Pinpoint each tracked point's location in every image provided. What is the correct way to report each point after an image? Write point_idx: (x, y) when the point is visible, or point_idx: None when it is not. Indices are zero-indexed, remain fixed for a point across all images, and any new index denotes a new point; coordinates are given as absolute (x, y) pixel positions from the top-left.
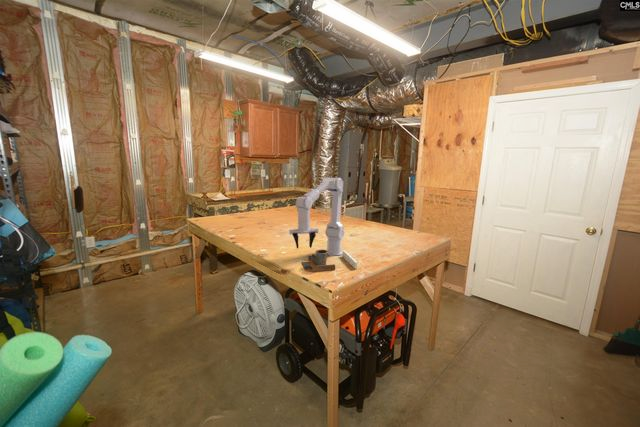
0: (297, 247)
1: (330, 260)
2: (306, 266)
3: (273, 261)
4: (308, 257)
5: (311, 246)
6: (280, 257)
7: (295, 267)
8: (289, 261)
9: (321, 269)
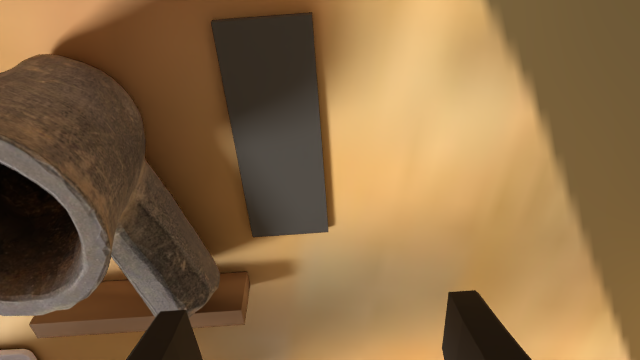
0: (478, 304)
1: None
2: (287, 104)
3: (599, 286)
4: (246, 305)
5: (150, 327)
6: None
7: (423, 108)
8: (448, 271)
9: None
